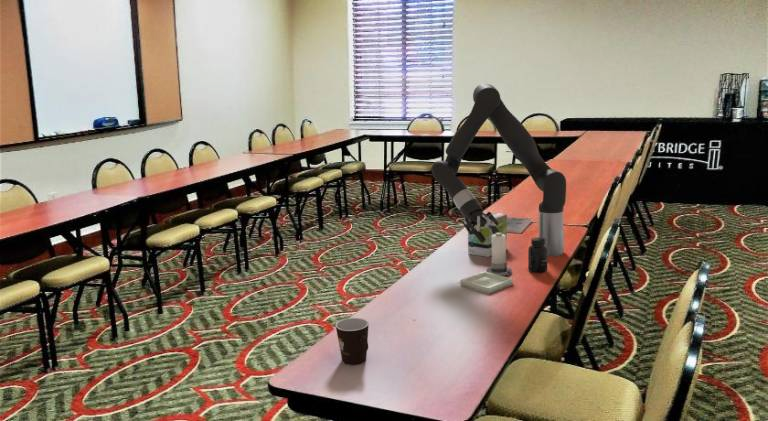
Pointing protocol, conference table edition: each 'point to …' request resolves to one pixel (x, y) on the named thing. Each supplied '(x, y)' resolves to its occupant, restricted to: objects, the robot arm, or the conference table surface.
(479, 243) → the tea box
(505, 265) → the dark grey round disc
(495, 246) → the white knobbed cylinder
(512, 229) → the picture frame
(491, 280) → the tray
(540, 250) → the supplement bottle
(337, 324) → the coffee mug
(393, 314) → the conference table surface
